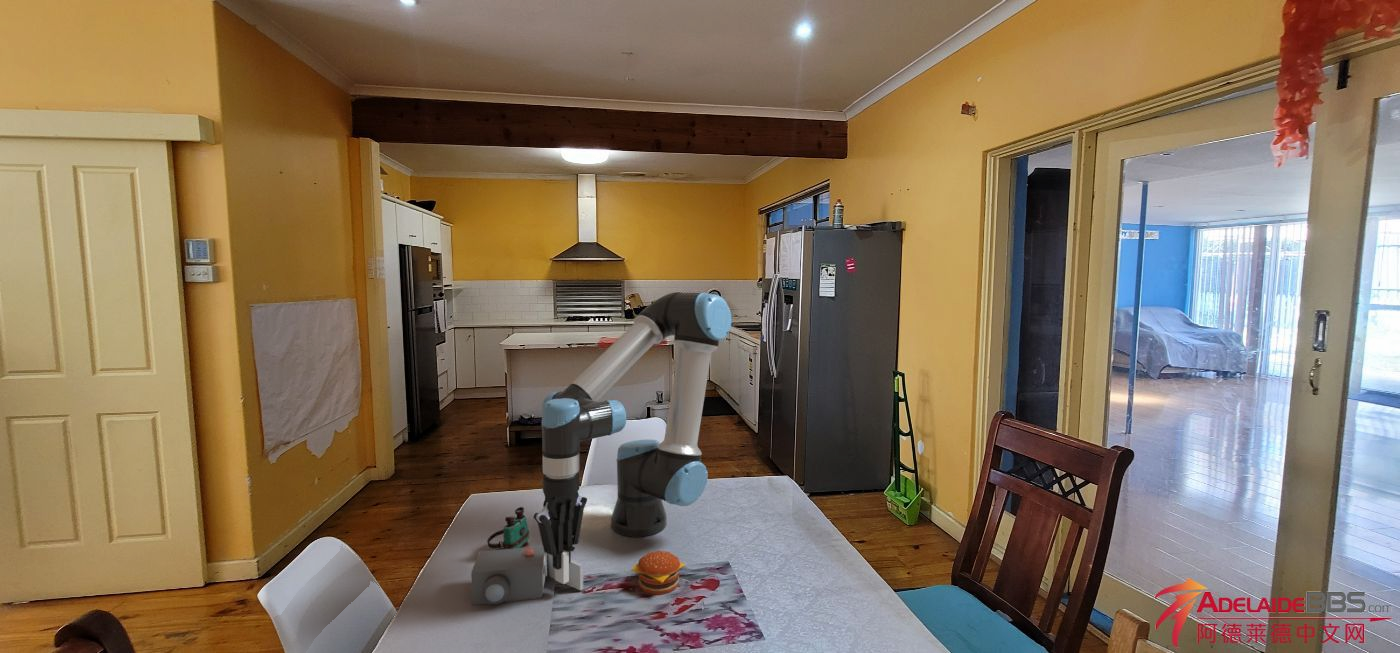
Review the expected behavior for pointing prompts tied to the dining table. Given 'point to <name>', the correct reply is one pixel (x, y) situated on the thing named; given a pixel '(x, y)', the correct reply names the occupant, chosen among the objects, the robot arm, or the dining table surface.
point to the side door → (574, 572)
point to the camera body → (508, 575)
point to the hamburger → (658, 572)
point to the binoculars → (513, 532)
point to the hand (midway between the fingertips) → (561, 580)
